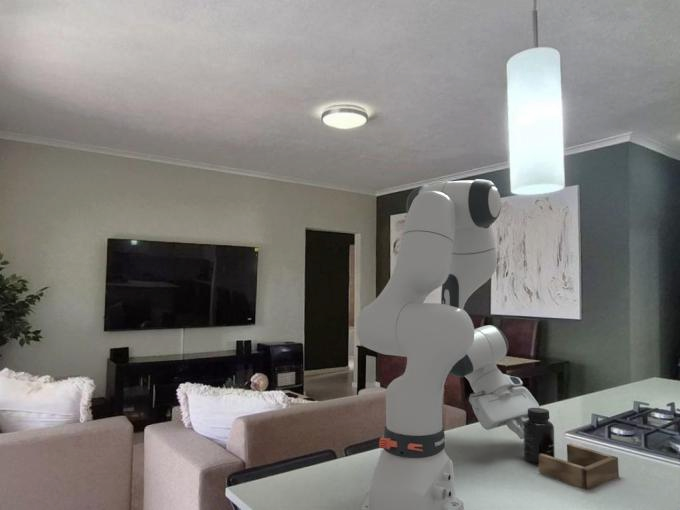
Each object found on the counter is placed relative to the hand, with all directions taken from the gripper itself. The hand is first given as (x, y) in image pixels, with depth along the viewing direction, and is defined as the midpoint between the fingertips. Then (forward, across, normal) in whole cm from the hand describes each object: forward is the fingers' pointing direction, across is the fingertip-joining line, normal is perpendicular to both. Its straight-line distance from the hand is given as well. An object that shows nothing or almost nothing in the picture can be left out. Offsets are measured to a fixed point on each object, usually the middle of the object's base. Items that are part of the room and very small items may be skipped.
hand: (526, 436), depth 120 cm
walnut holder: (+13, 0, -6) cm, 14 cm away
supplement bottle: (+6, 0, +1) cm, 6 cm away
